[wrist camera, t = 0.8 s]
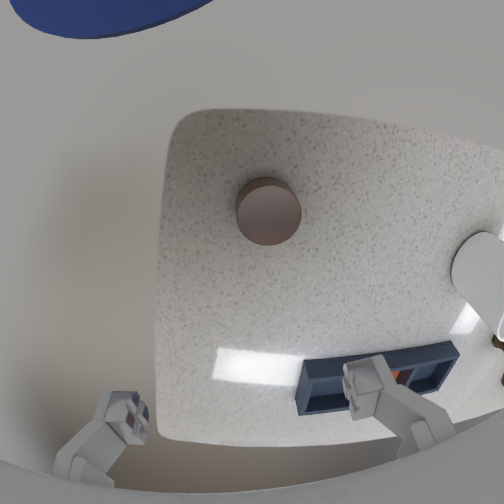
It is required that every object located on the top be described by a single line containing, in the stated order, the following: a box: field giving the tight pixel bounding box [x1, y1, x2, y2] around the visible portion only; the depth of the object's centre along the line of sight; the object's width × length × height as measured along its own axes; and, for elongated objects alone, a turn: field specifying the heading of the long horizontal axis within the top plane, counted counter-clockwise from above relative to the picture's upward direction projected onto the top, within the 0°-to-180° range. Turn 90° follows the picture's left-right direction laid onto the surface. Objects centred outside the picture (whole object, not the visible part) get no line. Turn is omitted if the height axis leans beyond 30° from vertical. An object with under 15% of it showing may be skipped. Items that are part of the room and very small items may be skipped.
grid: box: [295, 341, 460, 416], centre depth 37 cm, size 8×23×3 cm, turn 88°
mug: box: [451, 232, 504, 342], centre depth 27 cm, size 12×8×10 cm
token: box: [236, 177, 301, 245], centre depth 25 cm, size 5×5×2 cm
